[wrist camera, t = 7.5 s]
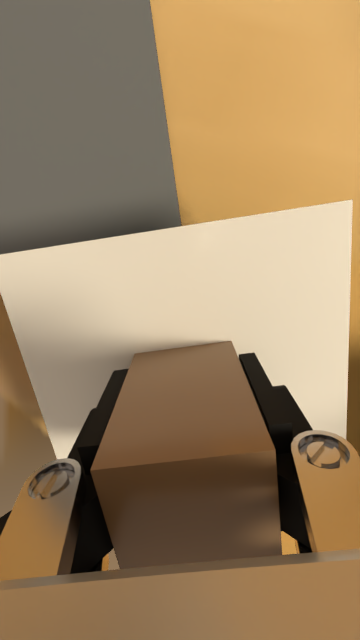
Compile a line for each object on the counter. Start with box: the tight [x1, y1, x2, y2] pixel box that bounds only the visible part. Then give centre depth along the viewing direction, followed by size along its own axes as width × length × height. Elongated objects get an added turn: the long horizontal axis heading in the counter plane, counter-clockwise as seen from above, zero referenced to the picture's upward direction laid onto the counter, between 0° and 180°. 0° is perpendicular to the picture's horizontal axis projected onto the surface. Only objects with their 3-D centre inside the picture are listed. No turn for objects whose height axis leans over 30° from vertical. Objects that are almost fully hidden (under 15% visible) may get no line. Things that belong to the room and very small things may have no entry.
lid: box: [0, 200, 353, 569], centre depth 9 cm, size 12×12×6 cm
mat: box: [0, 0, 181, 254], centre depth 15 cm, size 13×13×1 cm
